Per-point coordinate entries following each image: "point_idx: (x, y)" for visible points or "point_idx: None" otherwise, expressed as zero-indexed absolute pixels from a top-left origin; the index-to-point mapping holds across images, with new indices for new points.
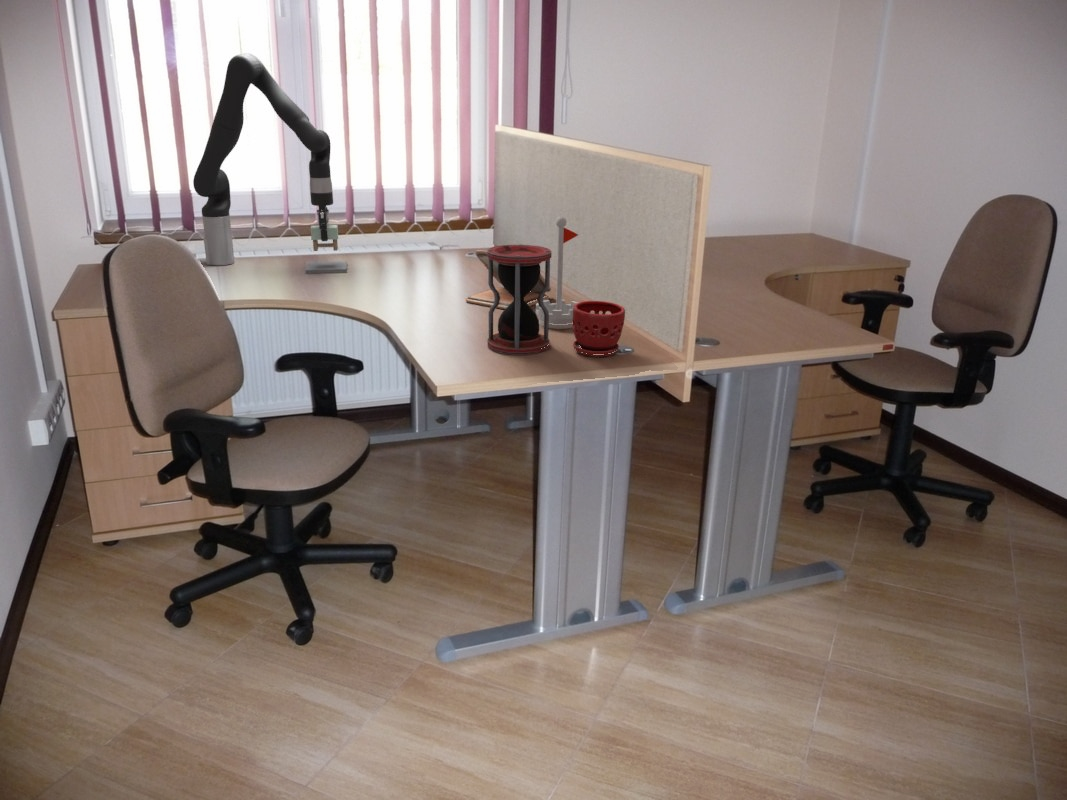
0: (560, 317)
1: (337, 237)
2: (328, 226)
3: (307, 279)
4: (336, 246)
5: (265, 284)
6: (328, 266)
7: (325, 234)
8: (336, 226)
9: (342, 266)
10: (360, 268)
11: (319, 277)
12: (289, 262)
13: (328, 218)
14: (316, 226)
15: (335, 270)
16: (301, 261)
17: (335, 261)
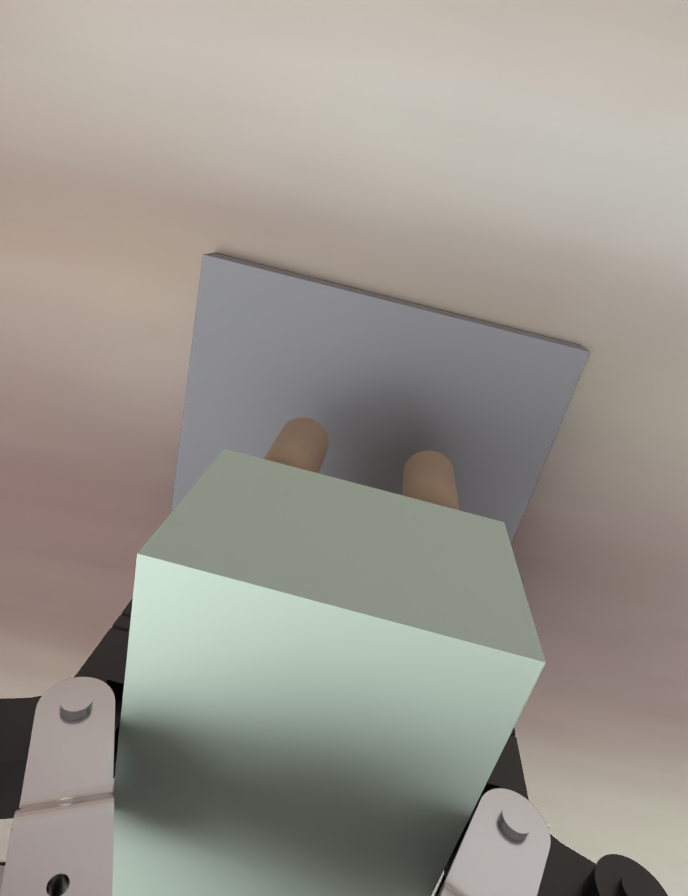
0: None
1: (506, 541)
2: (275, 746)
3: (667, 667)
4: (455, 486)
5: (665, 874)
6: (397, 474)
7: (514, 756)
8: (330, 620)
9: (446, 359)
10: (446, 162)
11: (647, 585)
12: (48, 640)
13: (110, 889)
14: (209, 886)
15: (547, 445)
16: (24, 568)
17: (195, 367)
